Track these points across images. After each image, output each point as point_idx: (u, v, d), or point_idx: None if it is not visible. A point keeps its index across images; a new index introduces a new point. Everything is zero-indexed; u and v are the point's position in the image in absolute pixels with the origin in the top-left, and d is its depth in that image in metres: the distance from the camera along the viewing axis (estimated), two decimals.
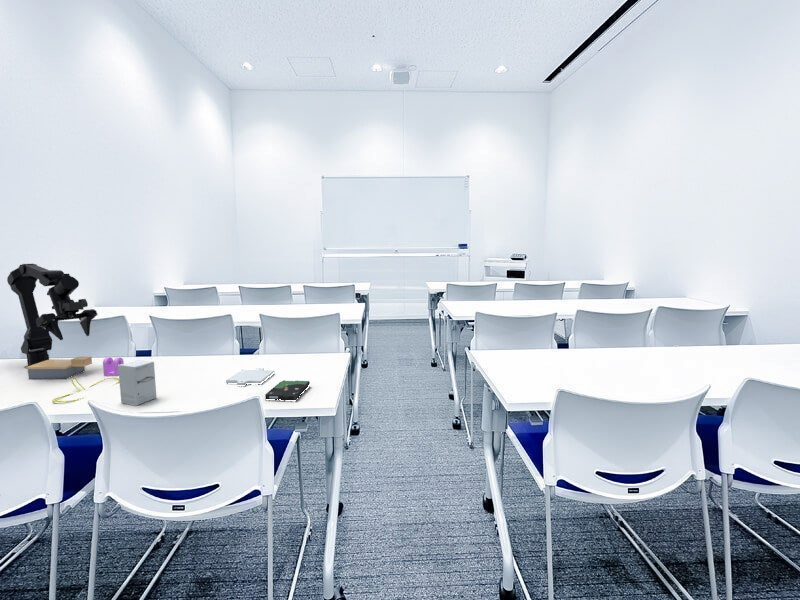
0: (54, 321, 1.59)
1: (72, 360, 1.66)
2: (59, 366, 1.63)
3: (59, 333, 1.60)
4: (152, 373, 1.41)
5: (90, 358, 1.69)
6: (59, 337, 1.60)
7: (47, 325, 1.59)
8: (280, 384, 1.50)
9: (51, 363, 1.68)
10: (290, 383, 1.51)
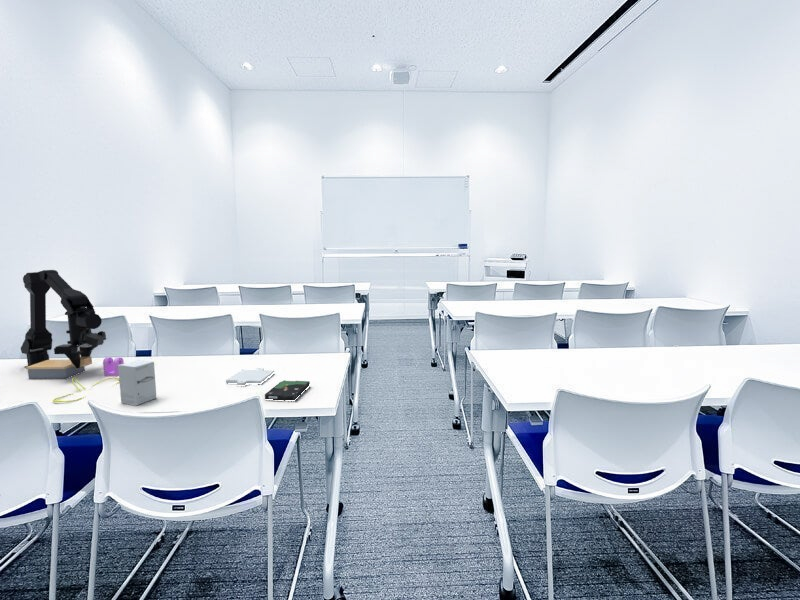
0: (80, 352, 1.64)
1: None
2: (59, 366, 1.63)
3: (78, 362, 1.65)
4: (152, 373, 1.41)
5: (90, 358, 1.69)
6: (76, 365, 1.65)
7: None
8: (280, 384, 1.50)
9: (51, 363, 1.68)
10: (290, 383, 1.51)
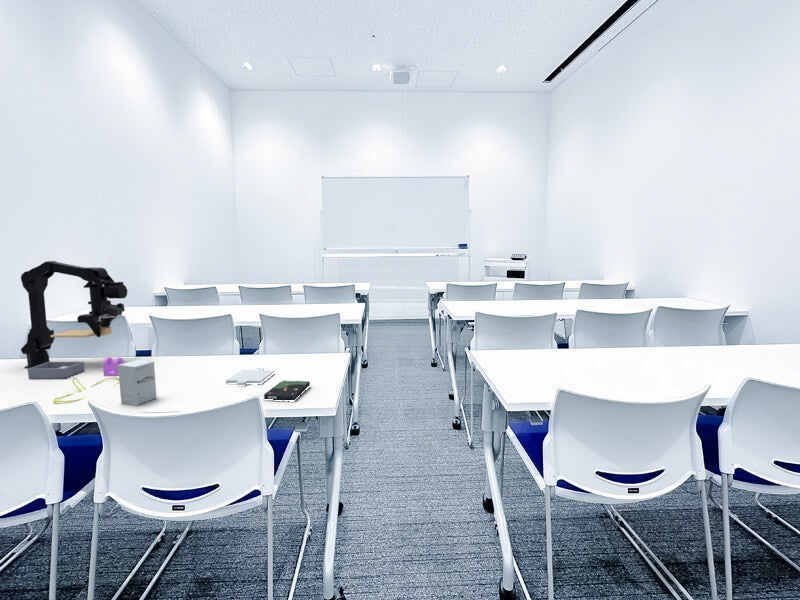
0: (101, 321, 1.75)
1: None
2: (81, 334, 1.75)
3: (99, 331, 1.77)
4: (152, 373, 1.41)
5: (110, 328, 1.81)
6: (97, 334, 1.77)
7: (91, 322, 1.74)
8: (280, 384, 1.50)
9: (73, 332, 1.79)
10: (290, 384, 1.51)
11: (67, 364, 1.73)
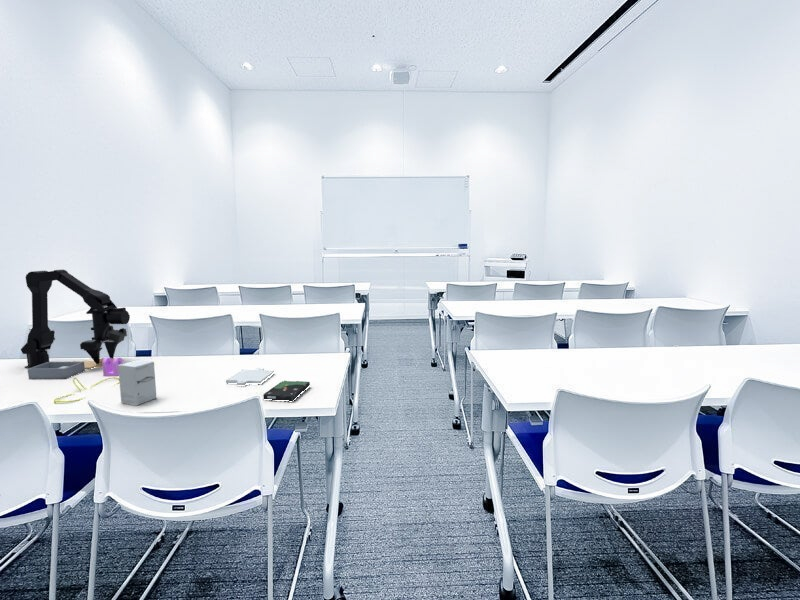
0: (100, 349, 1.74)
1: None
2: (85, 367, 1.77)
3: (98, 358, 1.76)
4: (152, 373, 1.41)
5: (113, 359, 1.83)
6: (96, 361, 1.76)
7: (90, 350, 1.73)
8: (280, 384, 1.50)
9: None
10: (290, 384, 1.51)
11: (67, 364, 1.73)
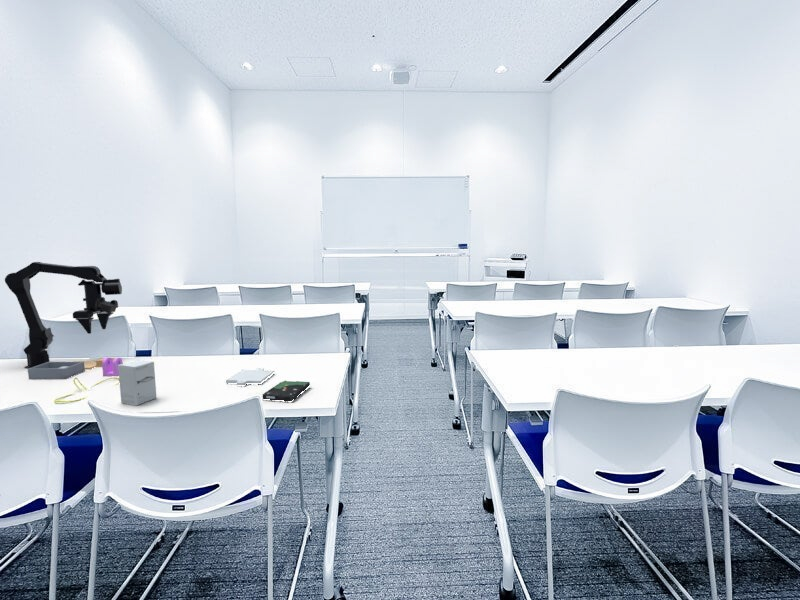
0: (91, 318, 1.81)
1: (97, 361, 1.79)
2: (85, 367, 1.77)
3: (90, 328, 1.82)
4: (152, 373, 1.41)
5: (113, 359, 1.83)
6: (88, 331, 1.82)
7: (82, 319, 1.80)
8: (280, 384, 1.50)
9: None
10: (289, 384, 1.51)
11: (67, 364, 1.73)
